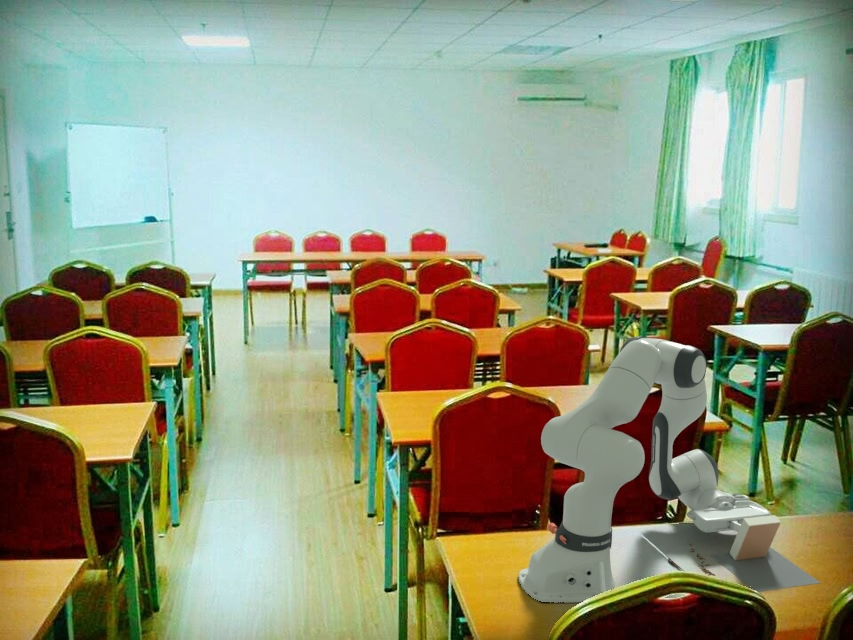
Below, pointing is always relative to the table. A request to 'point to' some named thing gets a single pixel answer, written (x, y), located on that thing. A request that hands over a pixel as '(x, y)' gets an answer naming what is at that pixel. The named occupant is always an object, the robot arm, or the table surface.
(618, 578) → the table surface
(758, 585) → the mat
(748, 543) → the tile
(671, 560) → the wooden fragment
